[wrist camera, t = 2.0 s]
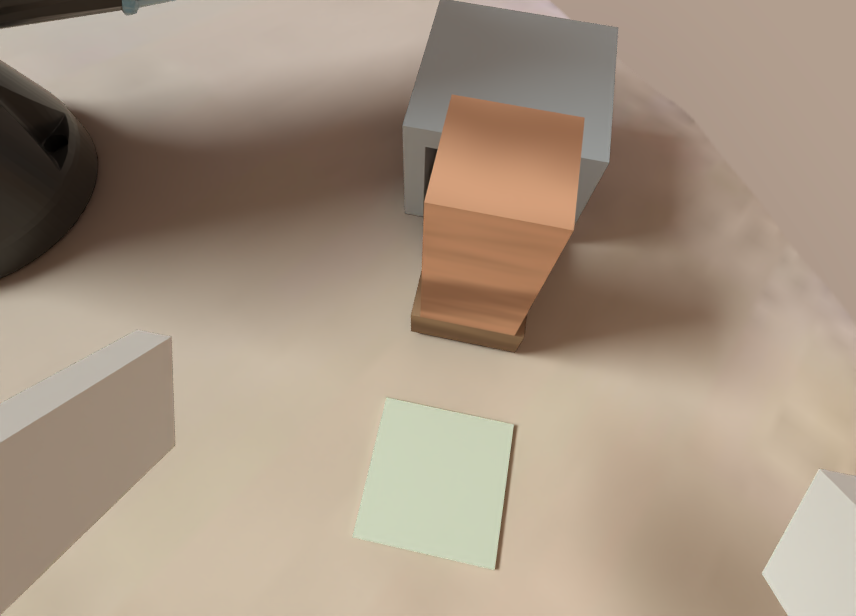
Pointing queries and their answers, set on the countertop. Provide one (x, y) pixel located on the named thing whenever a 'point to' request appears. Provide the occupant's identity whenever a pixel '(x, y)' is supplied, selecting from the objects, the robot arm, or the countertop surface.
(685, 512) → the countertop surface
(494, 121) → the wooden pillar on base
